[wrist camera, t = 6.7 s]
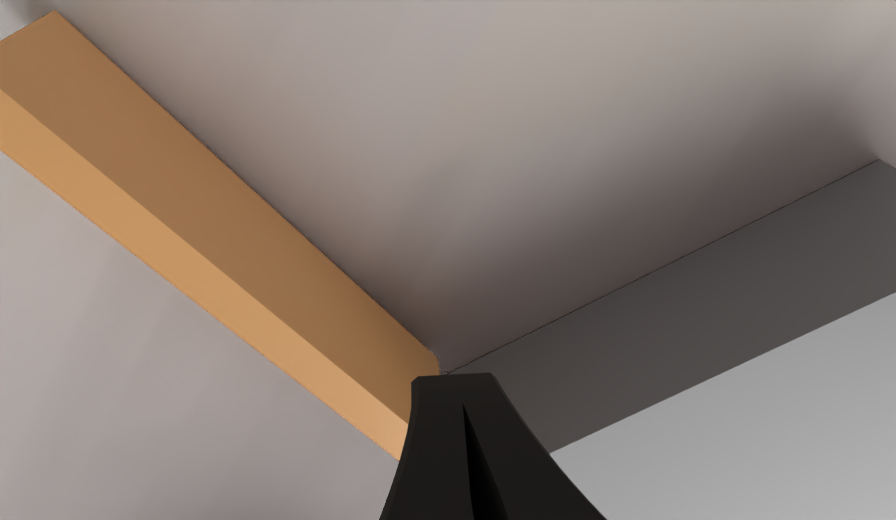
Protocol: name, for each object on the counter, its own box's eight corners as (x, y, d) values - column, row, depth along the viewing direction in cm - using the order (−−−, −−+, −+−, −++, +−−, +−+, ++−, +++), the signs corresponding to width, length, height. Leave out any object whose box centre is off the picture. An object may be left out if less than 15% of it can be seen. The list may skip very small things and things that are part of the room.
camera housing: (579, 570, 30) (622, 711, 25) (440, 378, 24) (461, 513, 19) (979, 396, 27) (1113, 515, 22) (932, 133, 21) (1100, 218, 17)
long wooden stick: (437, 358, 23) (454, 462, 19) (413, 375, 23) (425, 481, 20) (54, 9, 17) (-35, 60, 13) (27, 37, 17) (-68, 96, 13)
